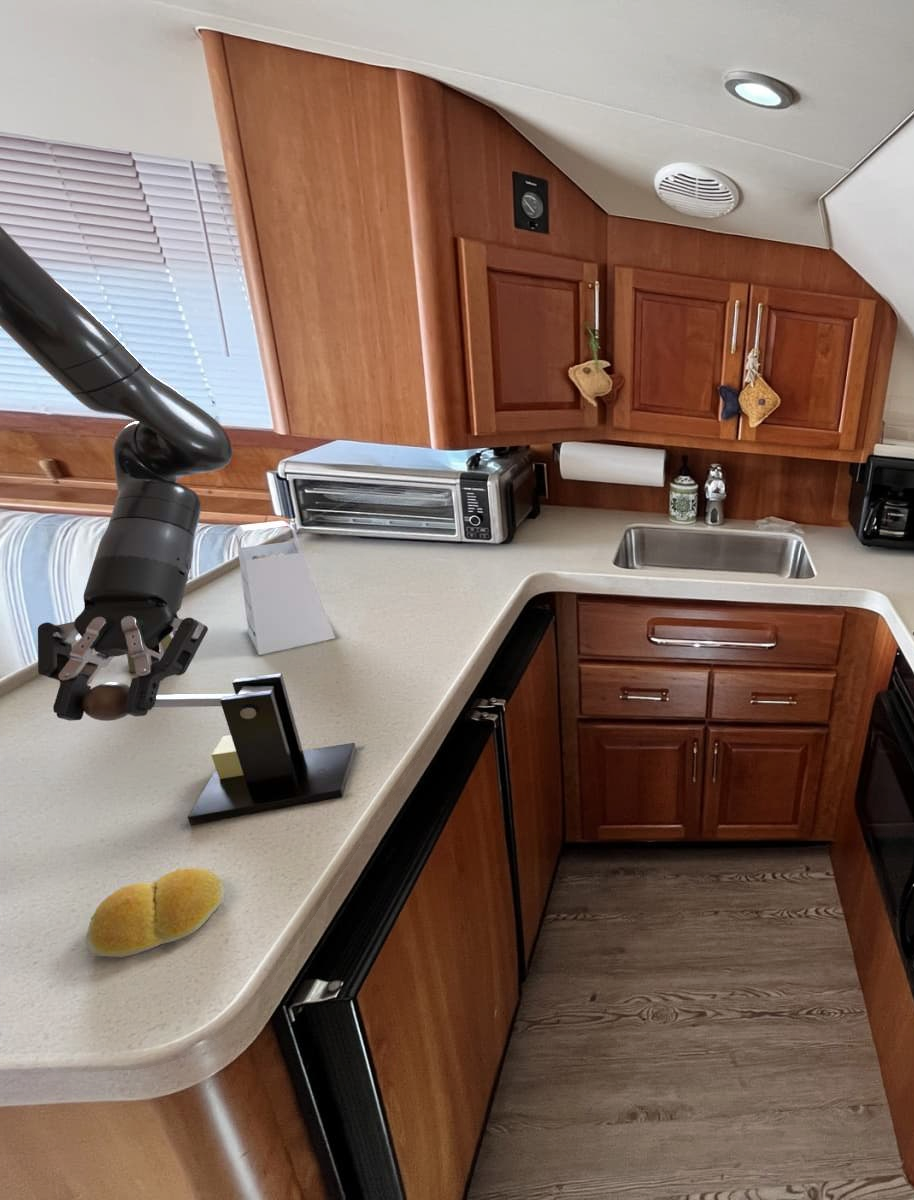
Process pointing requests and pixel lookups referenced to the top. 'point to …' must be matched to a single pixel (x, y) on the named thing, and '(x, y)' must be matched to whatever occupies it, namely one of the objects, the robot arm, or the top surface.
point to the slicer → (270, 758)
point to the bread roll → (154, 912)
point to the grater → (280, 595)
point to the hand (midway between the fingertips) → (102, 715)
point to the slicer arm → (112, 698)
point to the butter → (226, 759)
